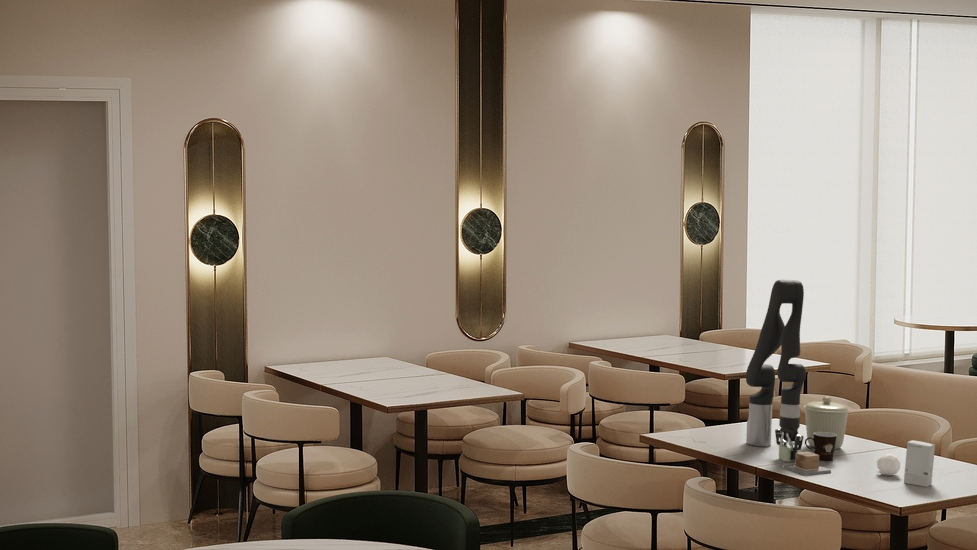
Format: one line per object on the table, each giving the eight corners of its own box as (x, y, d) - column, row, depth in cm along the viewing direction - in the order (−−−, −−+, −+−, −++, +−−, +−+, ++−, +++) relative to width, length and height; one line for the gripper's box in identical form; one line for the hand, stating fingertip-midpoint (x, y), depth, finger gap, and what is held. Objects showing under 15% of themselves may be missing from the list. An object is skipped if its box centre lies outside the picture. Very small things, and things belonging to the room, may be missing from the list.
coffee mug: (835, 458, 396) (836, 433, 395) (835, 463, 388) (836, 437, 387) (804, 455, 400) (805, 430, 399) (803, 460, 392) (804, 434, 391)
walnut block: (794, 466, 378) (795, 452, 377) (807, 464, 380) (808, 451, 380) (805, 469, 372) (806, 456, 372) (818, 468, 374) (819, 455, 374)
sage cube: (778, 458, 393) (779, 446, 392) (788, 457, 395) (789, 445, 394) (787, 461, 388) (787, 448, 388) (797, 460, 390) (798, 447, 390)
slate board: (783, 467, 379) (783, 464, 379) (808, 465, 384) (808, 462, 384) (805, 475, 368) (805, 472, 368) (830, 472, 373) (830, 469, 373)
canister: (857, 450, 410) (860, 399, 409) (821, 453, 404) (824, 401, 402) (827, 441, 427) (829, 391, 426) (792, 444, 420) (794, 393, 419)
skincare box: (903, 483, 360) (905, 442, 359) (909, 480, 365) (910, 439, 364) (928, 487, 355) (930, 445, 354) (933, 484, 359) (935, 443, 358)
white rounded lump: (878, 468, 367) (864, 464, 379) (896, 481, 367) (881, 477, 379) (890, 450, 367) (876, 447, 379) (908, 464, 368) (893, 460, 380)
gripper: (810, 418, 385) (808, 462, 386) (785, 411, 398) (783, 453, 399) (794, 419, 382) (793, 463, 383) (769, 412, 395) (768, 455, 396)
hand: (788, 458), depth 391 cm, fingers closed on sage cube, 5 cm apart
